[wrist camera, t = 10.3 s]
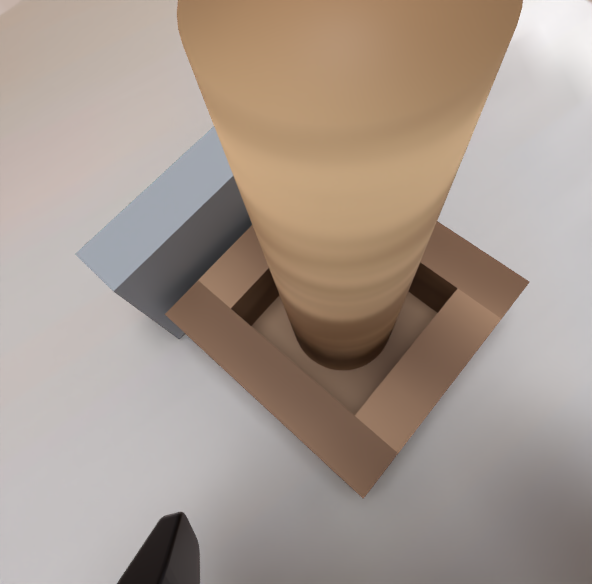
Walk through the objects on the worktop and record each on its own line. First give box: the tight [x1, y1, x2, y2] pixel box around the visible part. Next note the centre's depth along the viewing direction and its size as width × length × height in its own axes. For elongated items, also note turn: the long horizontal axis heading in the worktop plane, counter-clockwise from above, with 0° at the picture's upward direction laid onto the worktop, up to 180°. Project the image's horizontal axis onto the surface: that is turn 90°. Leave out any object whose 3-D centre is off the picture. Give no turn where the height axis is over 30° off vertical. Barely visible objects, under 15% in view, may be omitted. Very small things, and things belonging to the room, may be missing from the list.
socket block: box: [165, 221, 529, 498], centre depth 17 cm, size 9×9×4 cm
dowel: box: [177, 0, 523, 370], centre depth 12 cm, size 4×4×14 cm
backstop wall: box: [75, 127, 252, 339], centre depth 18 cm, size 16×2×6 cm, turn 138°
